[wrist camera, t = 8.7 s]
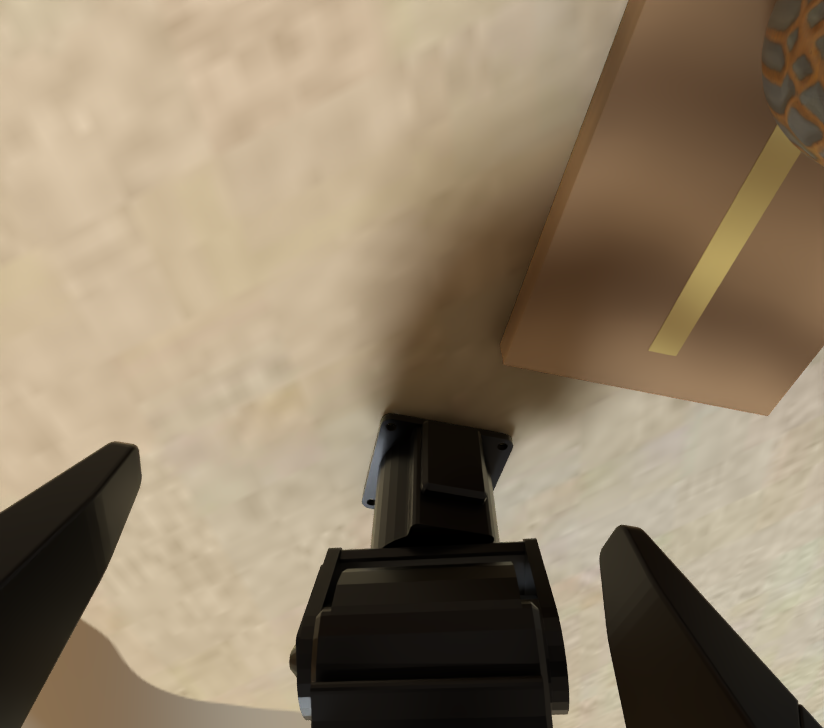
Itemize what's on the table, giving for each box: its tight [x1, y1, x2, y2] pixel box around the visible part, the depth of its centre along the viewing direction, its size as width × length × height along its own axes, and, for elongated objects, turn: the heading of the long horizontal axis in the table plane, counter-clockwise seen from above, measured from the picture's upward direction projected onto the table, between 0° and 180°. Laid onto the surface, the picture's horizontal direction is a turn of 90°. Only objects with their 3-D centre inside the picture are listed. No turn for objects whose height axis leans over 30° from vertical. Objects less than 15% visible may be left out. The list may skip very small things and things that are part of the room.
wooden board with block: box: [500, 0, 824, 416], centre depth 16 cm, size 20×12×6 cm, turn 168°
